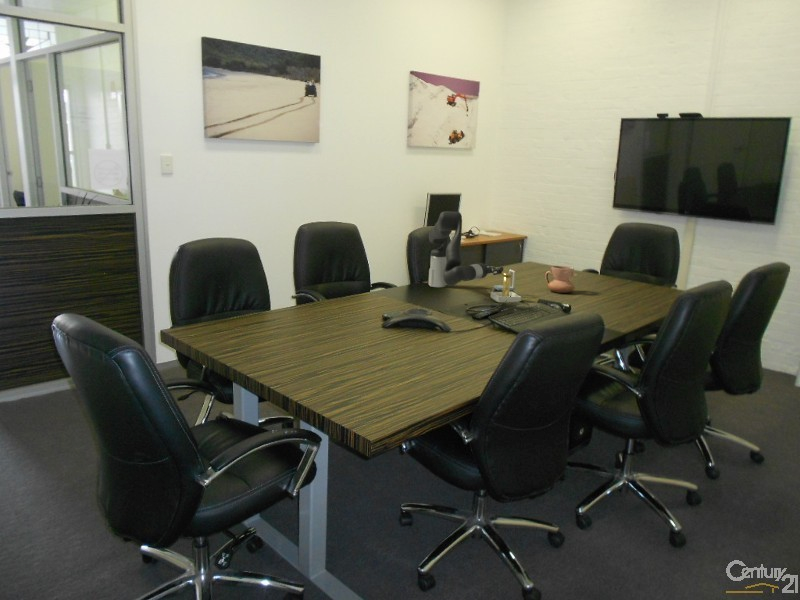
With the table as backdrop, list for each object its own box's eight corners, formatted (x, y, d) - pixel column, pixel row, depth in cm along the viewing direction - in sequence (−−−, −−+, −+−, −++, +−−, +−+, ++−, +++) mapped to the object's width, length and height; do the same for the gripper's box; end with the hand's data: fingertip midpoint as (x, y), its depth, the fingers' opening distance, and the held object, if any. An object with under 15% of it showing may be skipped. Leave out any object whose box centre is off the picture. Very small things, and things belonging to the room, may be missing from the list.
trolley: (497, 296, 313) (499, 271, 310) (492, 293, 320) (494, 269, 317) (514, 296, 315) (516, 271, 312) (509, 293, 322) (511, 269, 319)
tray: (498, 302, 300) (498, 297, 299) (490, 297, 311) (490, 292, 311) (520, 302, 302) (521, 296, 301) (512, 296, 314) (512, 291, 313)
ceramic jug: (580, 292, 332) (582, 267, 329) (570, 295, 320) (572, 269, 318) (549, 288, 342) (551, 263, 340) (539, 291, 331) (541, 266, 328)
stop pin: (502, 299, 304) (504, 274, 301) (499, 297, 308) (501, 272, 305) (511, 299, 305) (513, 274, 302) (508, 297, 309) (510, 272, 306)
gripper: (488, 266, 278) (508, 262, 289) (464, 261, 287) (484, 258, 299) (487, 281, 280) (506, 277, 291) (463, 276, 289) (483, 272, 301)
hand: (495, 267), depth 295 cm, fingers open, 8 cm apart
